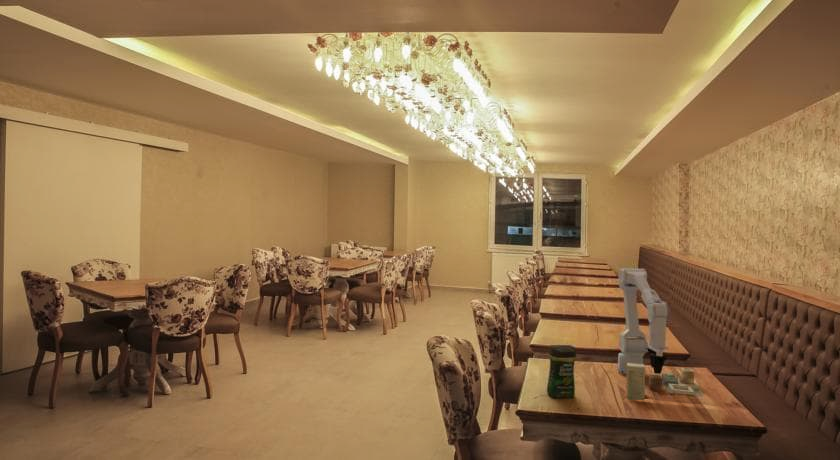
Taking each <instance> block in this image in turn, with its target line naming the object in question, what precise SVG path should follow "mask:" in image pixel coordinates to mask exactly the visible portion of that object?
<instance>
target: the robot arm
mask: <svg viewBox="0 0 840 460" xmlns="http://www.w3.org/2000/svg"><path fill="white" fill-rule="evenodd" d="M618 285H619V289H621V290H622V293H623V305H624V316H625V329H626V330H624V331H623V332H622V333H621V334H620V335H619V349H620V351H621V352H619V353H618V356H617V357H618V358H617V359H618V360H617V363H618V364H617V369H616V370H617V372H618V374H621V375H627V363H635V364H643V361H644V359H643V357H644V356H645V354H646V353H647V352H648V353H647V354H648V355H649V362H650V366H651V368H652V369H653V373H654V374H655V375H662V371H663V368H664V364H665V362H666V360H667V358H668V356H667V355H663V353H664V352H665V350H669V349H670V348H669V346H667V345H666V338H667V337H666V335H667V319H668V318H669V317H670V314H671V308H670V306H669V304H668V302H667V301H666V302H665V300H661V299H662V298H661V297H660V296H659V294H658V293H657V292H656V290H654V289H652V288H651V287H650V284H649V283H648V272H647V271H646V269H645V268H644V267H643V268H624V267H622V268H621V269H620V270H619V271H618ZM637 291H640V293H641V300H642V302H643V303H644V305H645V306H646V313H647V320H648V322H649V325H648V340H647V336H646V334H645V333H644V332H643V331H641V329H640V322H639V314H638V312H639V311H638V302H637Z"/></svg>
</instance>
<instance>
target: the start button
mask: <svg viewBox="0 0 840 460" xmlns="http://www.w3.org/2000/svg"><path fill="white" fill-rule="evenodd" d="M673 374H674V373H666V377H674V375H673Z"/></svg>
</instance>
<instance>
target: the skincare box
mask: <svg viewBox="0 0 840 460" xmlns="http://www.w3.org/2000/svg"><path fill="white" fill-rule="evenodd" d="M645 387H646V366H645V363H642V364H635V363H627V374H626V388H625V389H626V393H625V394H626V395H625V396H626V399H627V400H636V401H637V400H638V401H645V398H646V396H645V395H646V393H645V392H646V390H645V389H646V388H645Z"/></svg>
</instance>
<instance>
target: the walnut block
mask: <svg viewBox="0 0 840 460" xmlns="http://www.w3.org/2000/svg"><path fill="white" fill-rule="evenodd" d="M648 389H649V391H655V392H662V391H663V382H662V374H651V373H650V374H648Z"/></svg>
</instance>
